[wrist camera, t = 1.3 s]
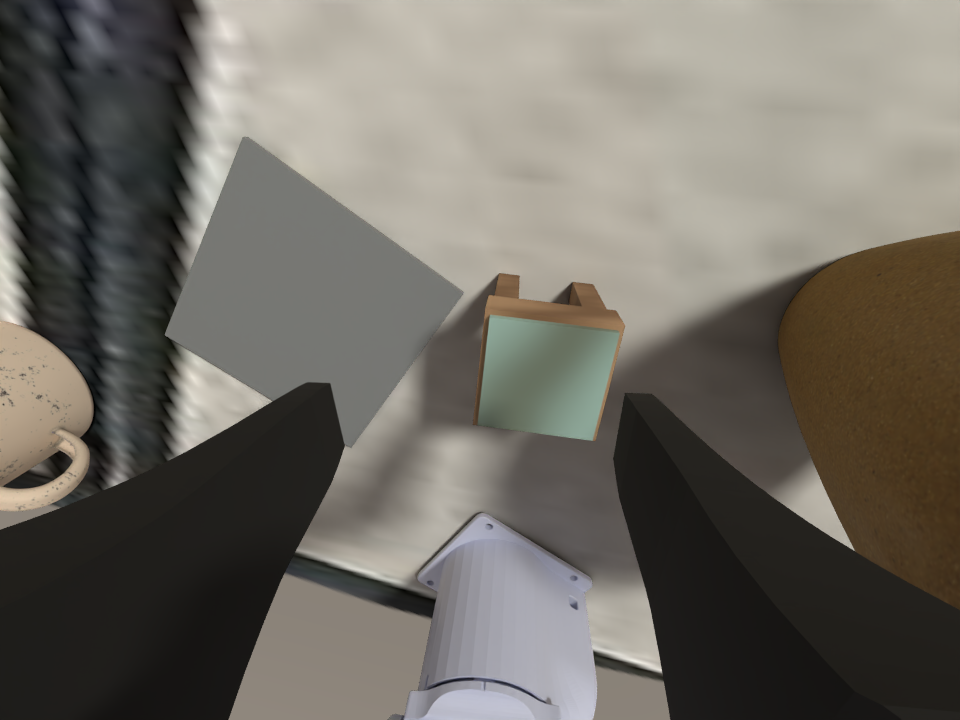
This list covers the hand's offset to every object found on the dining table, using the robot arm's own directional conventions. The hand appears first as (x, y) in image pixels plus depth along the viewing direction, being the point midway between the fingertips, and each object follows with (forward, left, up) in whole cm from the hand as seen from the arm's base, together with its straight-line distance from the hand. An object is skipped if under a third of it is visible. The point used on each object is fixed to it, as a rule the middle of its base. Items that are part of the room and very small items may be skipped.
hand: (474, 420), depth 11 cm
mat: (+7, +7, -12) cm, 16 cm away
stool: (-3, 0, -12) cm, 12 cm away
